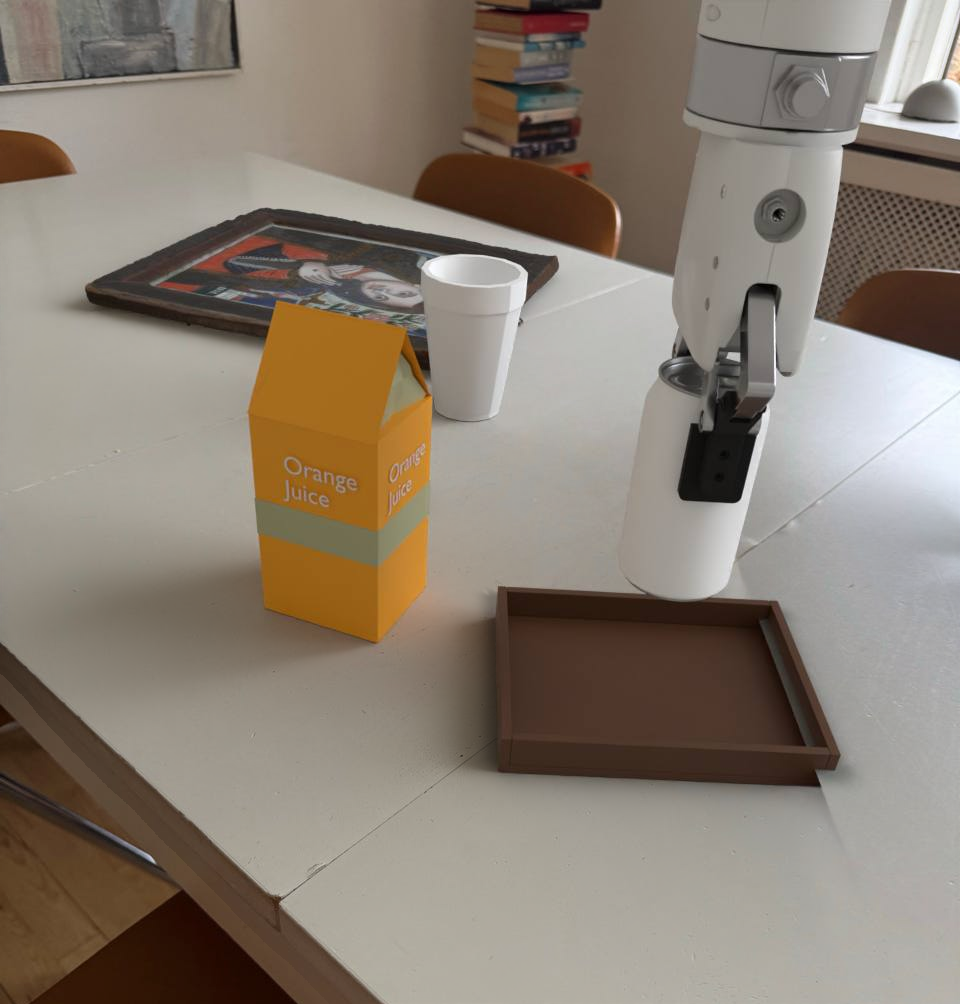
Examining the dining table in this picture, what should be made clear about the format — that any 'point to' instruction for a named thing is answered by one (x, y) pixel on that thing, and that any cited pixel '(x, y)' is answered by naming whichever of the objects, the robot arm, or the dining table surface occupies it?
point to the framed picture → (295, 273)
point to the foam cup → (471, 330)
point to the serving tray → (652, 689)
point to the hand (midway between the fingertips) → (696, 463)
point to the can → (658, 508)
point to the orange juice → (340, 470)
